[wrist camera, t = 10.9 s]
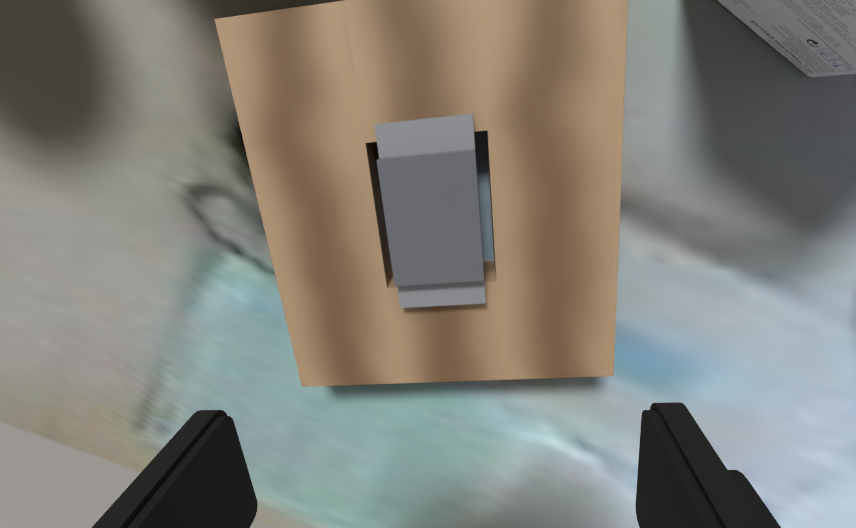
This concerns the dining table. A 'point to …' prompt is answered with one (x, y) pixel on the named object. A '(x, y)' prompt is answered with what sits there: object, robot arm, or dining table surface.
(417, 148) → the flanged block
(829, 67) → the ink cartridge box
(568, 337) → the wooden board
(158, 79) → the dining table surface
